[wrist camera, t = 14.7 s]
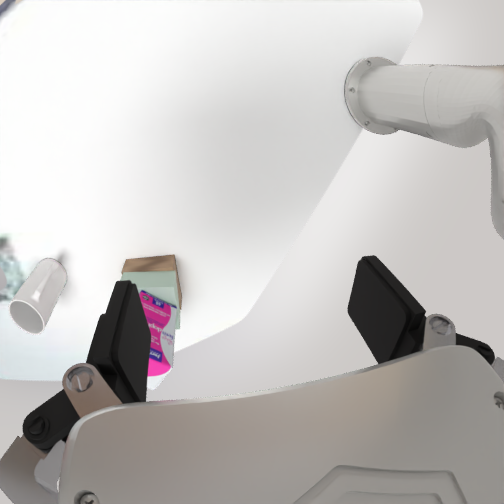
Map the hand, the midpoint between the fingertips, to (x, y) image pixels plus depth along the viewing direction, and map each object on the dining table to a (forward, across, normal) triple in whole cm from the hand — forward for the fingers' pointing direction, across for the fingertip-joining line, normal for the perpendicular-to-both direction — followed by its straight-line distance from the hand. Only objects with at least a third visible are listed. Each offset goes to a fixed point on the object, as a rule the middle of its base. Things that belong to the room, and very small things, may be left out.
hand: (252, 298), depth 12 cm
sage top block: (+27, +11, +19) cm, 35 cm away
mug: (+31, +29, +15) cm, 45 cm away
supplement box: (+23, +11, +19) cm, 32 cm away
